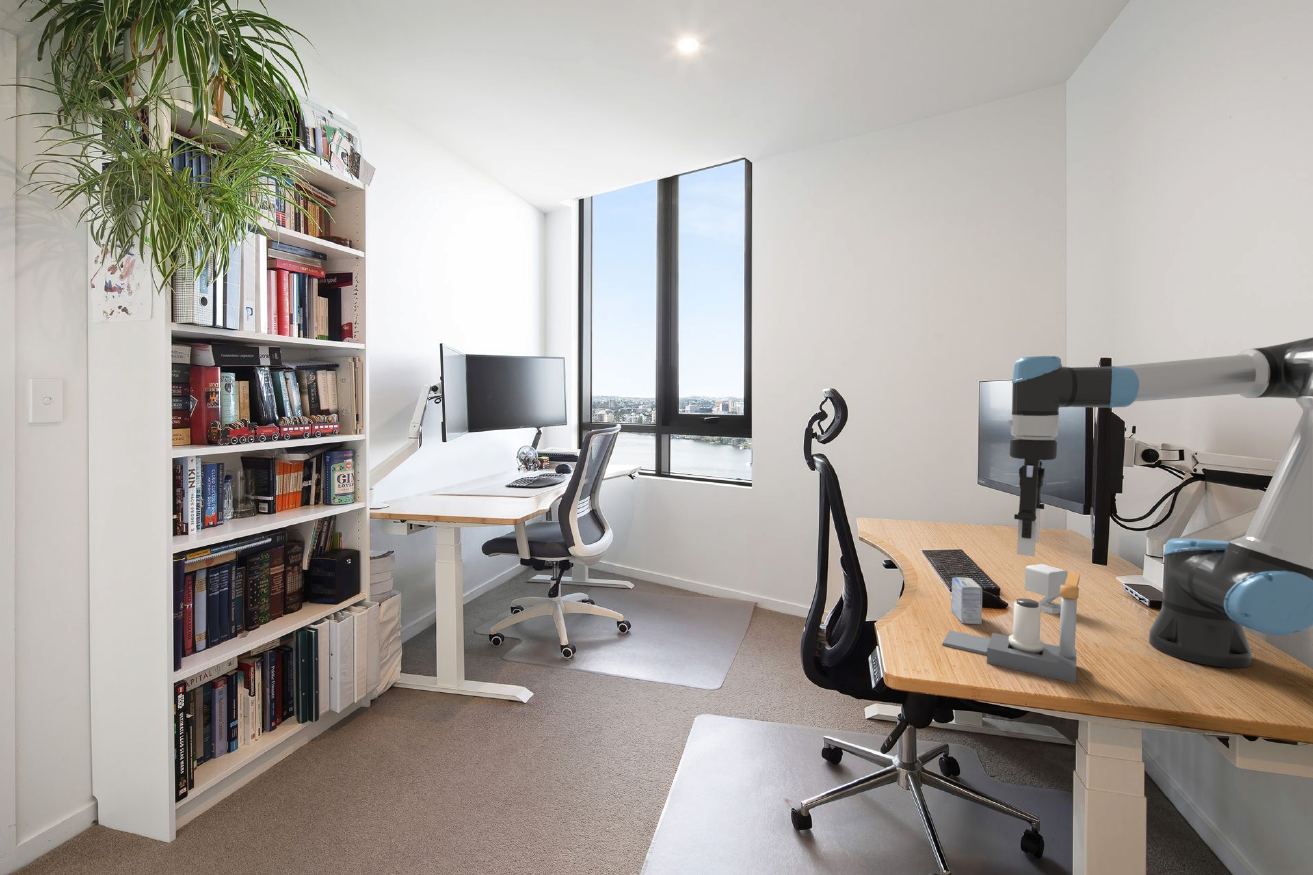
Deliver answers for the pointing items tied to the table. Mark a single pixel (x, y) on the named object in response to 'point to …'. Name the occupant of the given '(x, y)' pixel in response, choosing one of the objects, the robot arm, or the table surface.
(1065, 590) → the tan long bar
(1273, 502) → the robot arm
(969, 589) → the medicine box
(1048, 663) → the grey post stand
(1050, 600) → the security camera
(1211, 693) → the table surface
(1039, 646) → the plug
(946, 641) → the pad
